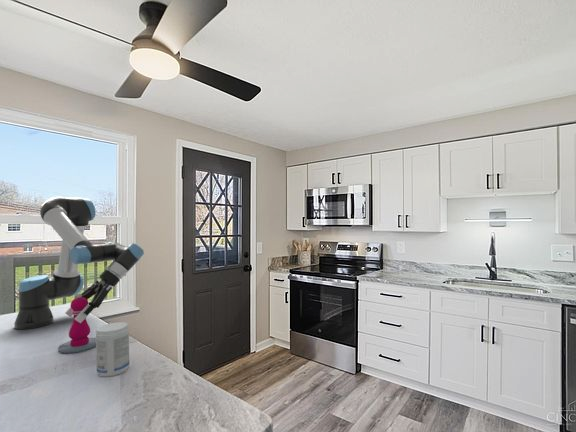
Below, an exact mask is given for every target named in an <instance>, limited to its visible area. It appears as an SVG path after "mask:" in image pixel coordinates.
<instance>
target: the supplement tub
mask: <svg viewBox="0 0 576 432" xmlns="http://www.w3.org/2000/svg"><path fill="white" fill-rule="evenodd" d="M129 331H130V330H129V323H127V322H121V321H119V322H110V323H107V324H102V325H101V326H98V327H96V331H95V338H96V347H95V350H96V352H95V354H96V359H95V360H96V374H97V375H98V376H99V377H101V378H103V377H106V378H109V377H114V376H117V375H120V374H123V373H124V372H125V371H127V370H128V369H129V368H130V338H129V337H130V336H129Z"/></svg>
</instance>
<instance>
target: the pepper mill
mask: <svg viewBox="0 0 576 432" xmlns="http://www.w3.org/2000/svg"><path fill="white" fill-rule="evenodd" d="M88 303H89V299H86V298H83V297H82V293H78V294H76V297H75V298H74V299H72V301H71V302H70V307H71V308H72V309H73V311H72V316H73V319H72V324H71V326H70V328H69V331H68V337H69V338H70V339H71V340H69V341H70V346H72V347H77V346H82V345H85V344H87V343H89V338H90V337H89V335H90V333H91V328H90V325H89V323H88V321H87V317H86V318H85V319H84V320H83V321H82V322H81V323H79V322H78V321H76V320H75V318H76V317H77V316H78V315H79V313H80V312H81V311H82V310H83V309H84V308H85V307H86V306H87V305H89V304H88Z"/></svg>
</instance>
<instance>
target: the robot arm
mask: <svg viewBox="0 0 576 432" xmlns="http://www.w3.org/2000/svg"><path fill="white" fill-rule="evenodd" d="M39 213H40V218H41V220H42V221H43V222H44V223H45V224H46V225H48V226H51V227H52V229H53V230H54V231H55V232H56V233H57V235H58V236H59V237H60V238H61V247H60V252H59V258H58V259H59V260H58V267H57V269H56V270H54V271H53V275H52V276H49V275H48V274H41V275H40V274H39V275H35V276H30V277H27V278H25V279H22V280H21V281H20V282H19V285H18V286H19V287H18V313H17V315H16V319H15V320H14V324H13V325H14V327H13V328H14V329H16V330H28V329H29V330H30V329H36V328H40V327H44V326H48V325H50V324H52V323H53V322H54V315H53V313H52V310H51V308H50V301H53V300H58V299H63V298H69V297H72V296H77V295H78V294H80V293H81V291H82V290H83V287H84V278H83V275H82V274H81V272H80V271H79V270H78V268H79V265H85V264H95V263H100V262H110V261H112V262H111V263H110V264H109V265H108V266H107V267H106V269H105V270H103V272H102V273H101V274H99V278H100V279H101V280H100V281H99V280H96V281H95V282H93V283H92V284H91V285H90V286H89V287H87V288H86V289H85V290H84V291H83V292H82V293H81V294H82V297H83V298H86V299H87V300H89V299H90V298H91V297H92V299H91V301H90V302H89V301H88V305H87V306H86V307H85V308H84V309H83V310H82V311H81V312H80V313H79V315H78V316H77V317H76V318H75V320H76V321H78V322H79V323H81V322H82V321H83V320H84V319H85V318H86V319H87V317H88V316H89V315H90V314H91V313H92V311H94V310H95V309H96V308H97V309H98V308H99V307H100V306H101V305H102V303H103V301H104V300H105V299H106V297H107V296H108V294H109V292H110V291H111V290H112V289H113V287H115V286H116V285H118V284H119V283H120V279H121V280H122V279H123V277H126V275H127V273H128V272H130V270H131V269H132V268H133V267H134V266H135V265H136V264H137V262H139V260H140V259H141V258H142V257H143V256H144V255H145V252H144V249H143V248H142V247H141V246H140V245H138V244H136V243H134V242H131V243H130V244H129V245H127V246H125V245H123V244H120V243H119V242H116V241H115V242H114V241H108V242H106V243H105V244H92V243H91V241H90V240H89V239H88V238H87V237H86V236H85V235H84V233H85V228H86V227H87V226H89V222H91V221H93V220H95V217H96V207H95V205H94V203H93V201H92V200H91V199H89V198H83V197H67V196H66V197H65V196H64V197H63V196H55V197H51V198H49V199H47V200H46V201H45V202H44V203H43V204H42V205H41V207H40V211H39ZM72 311H73V309H72V308H71V306H70V307H69V308H68V309H67V310H66V311H65V312H64V314H66V315H67V316H69V317H72V316H73V315H72Z"/></svg>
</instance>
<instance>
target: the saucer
mask: <svg viewBox="0 0 576 432" xmlns="http://www.w3.org/2000/svg"><path fill="white" fill-rule="evenodd" d="M70 341H71V340H69V341H66V342H64V343H62V344H59V346H58V347H57V352H58V353H59V354H60V353H61V354H64V355H65V354H67V355H68V354H77V353H82V352H86V351H89V350H92V349H94V348H96V337H89V343H87V344H85V345H82V346H77V347H72V346H70Z"/></svg>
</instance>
